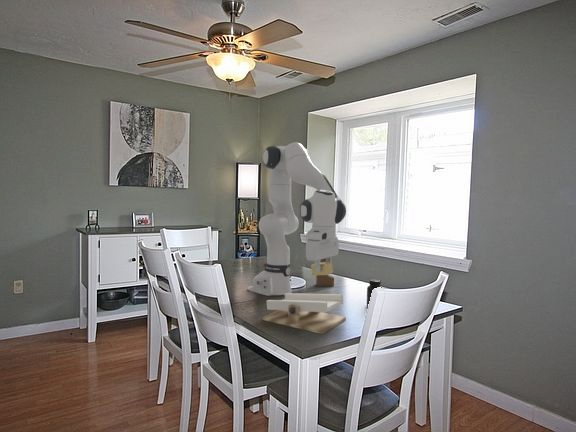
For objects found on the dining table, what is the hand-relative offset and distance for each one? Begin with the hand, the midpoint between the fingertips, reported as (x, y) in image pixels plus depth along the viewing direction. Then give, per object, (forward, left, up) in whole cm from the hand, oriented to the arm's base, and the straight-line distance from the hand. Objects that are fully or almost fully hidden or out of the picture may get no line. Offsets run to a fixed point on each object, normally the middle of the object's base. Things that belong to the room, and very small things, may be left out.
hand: (322, 269), depth 150 cm
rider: (0, 0, -2) cm, 2 cm away
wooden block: (-27, +57, -21) cm, 67 cm away
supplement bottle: (+9, +34, -21) cm, 41 cm away
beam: (-7, 0, -15) cm, 16 cm away
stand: (-7, 0, -21) cm, 22 cm away
